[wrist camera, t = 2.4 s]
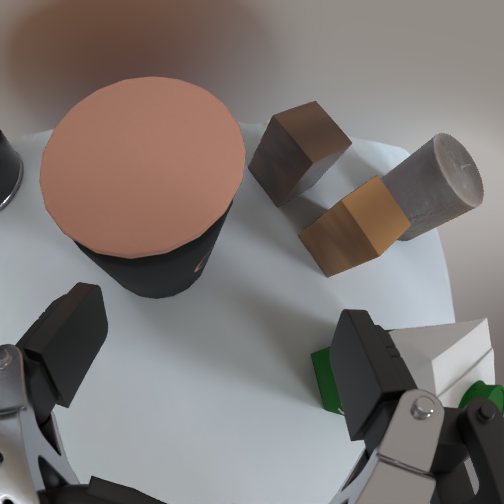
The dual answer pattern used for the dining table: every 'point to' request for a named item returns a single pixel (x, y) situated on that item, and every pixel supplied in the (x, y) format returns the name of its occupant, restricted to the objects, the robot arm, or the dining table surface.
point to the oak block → (355, 228)
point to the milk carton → (434, 364)
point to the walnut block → (297, 151)
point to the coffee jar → (145, 180)
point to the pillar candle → (435, 185)
